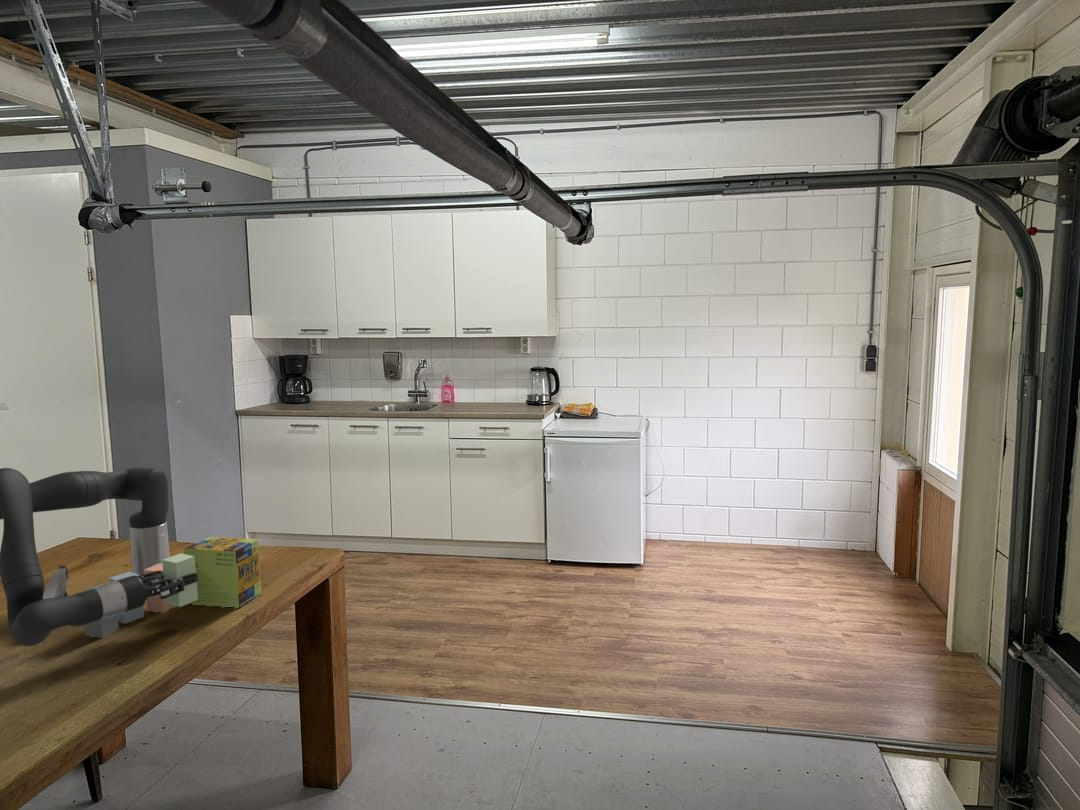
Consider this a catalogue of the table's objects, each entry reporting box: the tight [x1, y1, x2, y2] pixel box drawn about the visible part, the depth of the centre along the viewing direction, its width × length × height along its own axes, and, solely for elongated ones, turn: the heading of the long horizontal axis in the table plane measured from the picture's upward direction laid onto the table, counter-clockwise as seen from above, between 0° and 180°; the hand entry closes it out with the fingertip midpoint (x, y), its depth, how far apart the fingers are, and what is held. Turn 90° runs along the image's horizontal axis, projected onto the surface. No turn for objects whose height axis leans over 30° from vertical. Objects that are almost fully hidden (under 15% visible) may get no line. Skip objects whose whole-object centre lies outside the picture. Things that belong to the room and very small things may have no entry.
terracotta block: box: [144, 563, 175, 614], centre depth 185 cm, size 5×5×11 cm
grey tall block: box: [81, 584, 120, 639], centre depth 171 cm, size 5×5×11 cm
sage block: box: [162, 553, 198, 608], centre depth 174 cm, size 5×5×11 cm
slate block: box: [108, 571, 145, 625], centre depth 179 cm, size 5×5×11 cm
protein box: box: [183, 536, 262, 609], centre depth 190 cm, size 10×15×16 cm
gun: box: [43, 564, 69, 599], centre depth 181 cm, size 2×25×10 cm, turn 21°
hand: (189, 574), depth 176 cm, fingers closed on sage block, 5 cm apart
